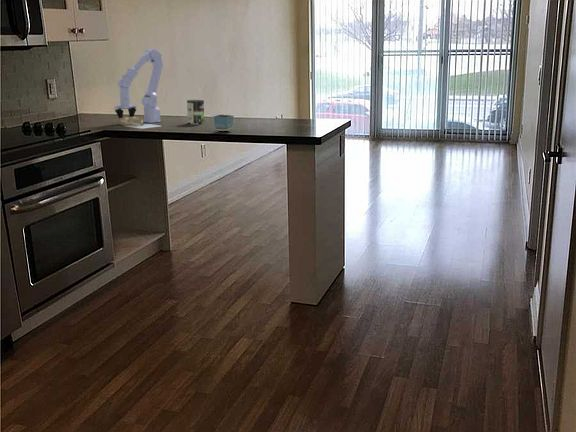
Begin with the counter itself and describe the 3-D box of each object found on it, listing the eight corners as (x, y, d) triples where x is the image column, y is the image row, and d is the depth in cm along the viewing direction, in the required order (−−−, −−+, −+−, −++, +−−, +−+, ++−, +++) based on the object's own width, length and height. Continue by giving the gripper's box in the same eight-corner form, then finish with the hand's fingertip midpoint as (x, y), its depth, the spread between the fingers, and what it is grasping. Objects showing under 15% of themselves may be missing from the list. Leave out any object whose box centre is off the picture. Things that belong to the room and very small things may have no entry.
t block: (135, 122, 369) (135, 116, 368) (148, 124, 362) (148, 117, 361) (119, 124, 360) (119, 118, 359) (132, 126, 353) (132, 119, 352)
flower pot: (234, 131, 342) (234, 115, 340) (227, 133, 334) (227, 117, 332) (220, 130, 345) (219, 114, 342) (213, 132, 337) (213, 116, 334)
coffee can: (206, 122, 376) (206, 100, 372) (201, 124, 366) (200, 101, 362) (191, 122, 378) (190, 99, 374) (185, 124, 368) (184, 100, 364)
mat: (145, 124, 367) (145, 123, 367) (163, 126, 358) (163, 126, 358) (124, 126, 355) (124, 126, 355) (141, 129, 346) (141, 128, 346)
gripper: (130, 97, 370) (131, 119, 373) (110, 98, 359) (112, 121, 362) (138, 97, 365) (139, 120, 369) (118, 99, 354) (119, 122, 358)
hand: (126, 120), depth 366 cm, fingers open, 7 cm apart
